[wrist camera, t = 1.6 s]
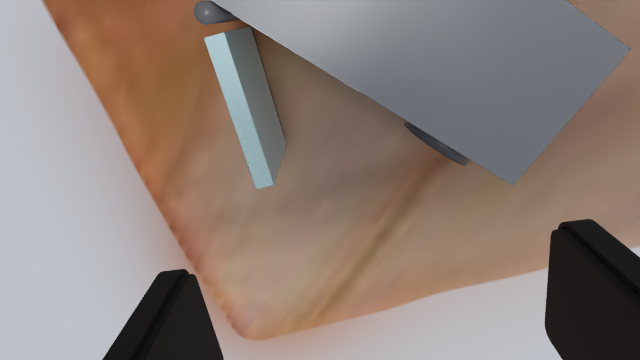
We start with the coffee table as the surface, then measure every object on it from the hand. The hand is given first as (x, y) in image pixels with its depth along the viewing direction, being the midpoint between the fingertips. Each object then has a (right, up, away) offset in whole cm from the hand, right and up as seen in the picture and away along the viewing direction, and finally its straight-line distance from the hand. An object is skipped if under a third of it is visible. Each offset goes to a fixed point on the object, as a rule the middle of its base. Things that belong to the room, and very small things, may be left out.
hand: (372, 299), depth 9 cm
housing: (+3, +13, +16) cm, 21 cm away
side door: (-5, +9, +17) cm, 20 cm away
